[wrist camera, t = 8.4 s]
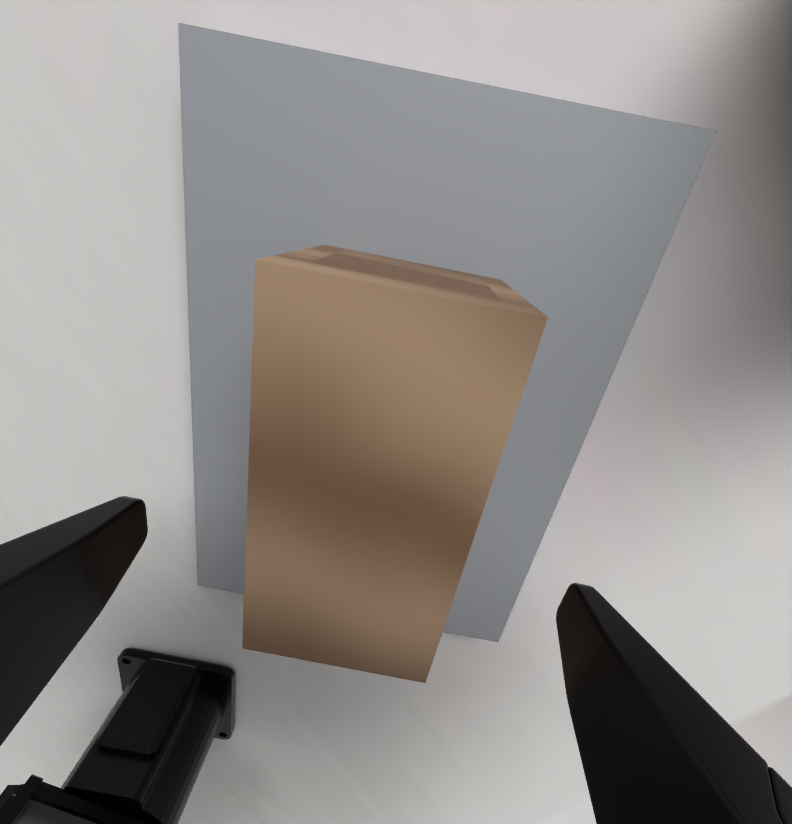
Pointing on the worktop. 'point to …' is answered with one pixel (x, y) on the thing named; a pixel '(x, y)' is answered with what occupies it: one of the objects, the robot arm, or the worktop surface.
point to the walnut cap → (372, 449)
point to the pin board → (417, 252)
